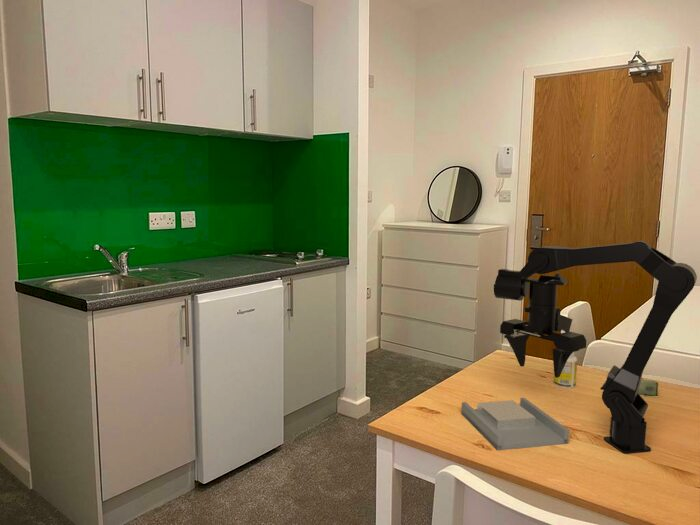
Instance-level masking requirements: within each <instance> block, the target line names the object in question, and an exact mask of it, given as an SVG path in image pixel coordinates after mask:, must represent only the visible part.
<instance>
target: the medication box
mask: <svg viewBox="0 0 700 525" xmlns="http://www.w3.org/2000/svg"><path fill="white" fill-rule="evenodd" d="M658 388H659V382H658V381H656V380H652V379H651V380H650V379H641V383H640V387H639V390H638V394H639V395H644V396H643V397H650V396H658V395H659V394H658V393H659V392H658V391H659V389H658Z"/></svg>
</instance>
